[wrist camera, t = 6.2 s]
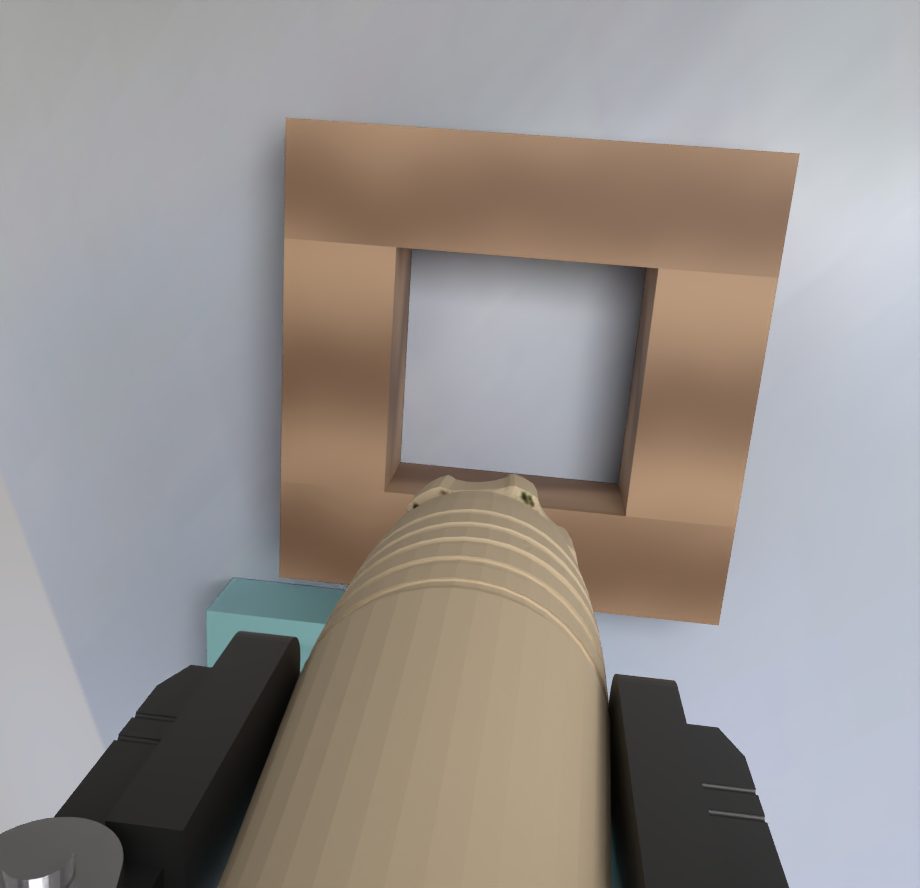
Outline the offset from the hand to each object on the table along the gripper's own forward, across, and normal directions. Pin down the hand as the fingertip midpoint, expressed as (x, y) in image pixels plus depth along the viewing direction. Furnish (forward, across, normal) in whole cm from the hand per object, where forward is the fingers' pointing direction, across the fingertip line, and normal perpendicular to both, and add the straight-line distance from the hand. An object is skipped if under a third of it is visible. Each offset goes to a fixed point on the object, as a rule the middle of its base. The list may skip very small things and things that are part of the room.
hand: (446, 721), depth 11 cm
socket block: (+23, 0, 0) cm, 23 cm away
